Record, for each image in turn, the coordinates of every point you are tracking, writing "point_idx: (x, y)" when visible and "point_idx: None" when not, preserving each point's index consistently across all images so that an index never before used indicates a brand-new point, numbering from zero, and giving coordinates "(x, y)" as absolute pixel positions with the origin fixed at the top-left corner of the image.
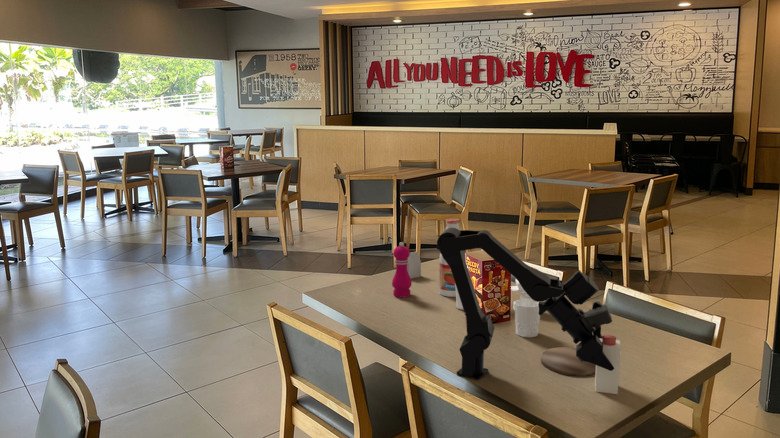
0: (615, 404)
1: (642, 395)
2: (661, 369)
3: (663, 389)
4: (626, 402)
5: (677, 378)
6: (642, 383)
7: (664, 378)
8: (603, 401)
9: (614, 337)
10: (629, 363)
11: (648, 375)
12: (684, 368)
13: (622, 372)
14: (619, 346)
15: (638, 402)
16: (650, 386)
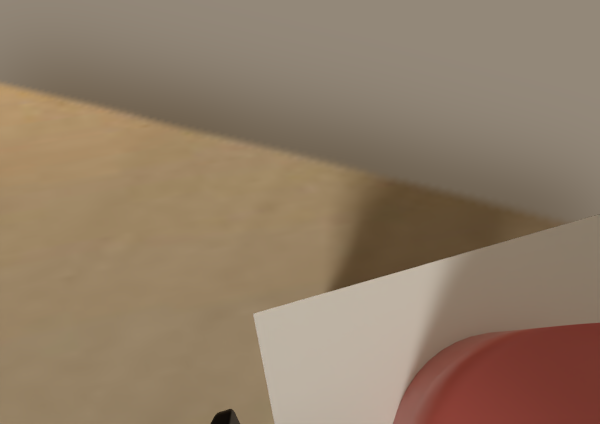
0: None
1: (353, 211)
2: (62, 194)
3: (253, 157)
4: None
5: (133, 135)
6: (233, 233)
7: (149, 170)
8: None
9: (559, 387)
10: (21, 332)
11: (140, 227)
12: (35, 130)
13: (143, 342)
14: (557, 246)
15: (430, 212)
16: (249, 200)
